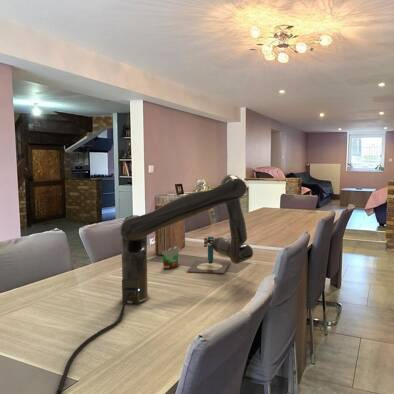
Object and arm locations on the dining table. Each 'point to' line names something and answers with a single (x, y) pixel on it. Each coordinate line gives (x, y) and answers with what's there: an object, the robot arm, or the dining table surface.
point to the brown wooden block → (169, 235)
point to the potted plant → (170, 257)
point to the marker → (210, 252)
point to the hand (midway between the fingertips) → (208, 239)
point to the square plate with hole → (209, 267)
